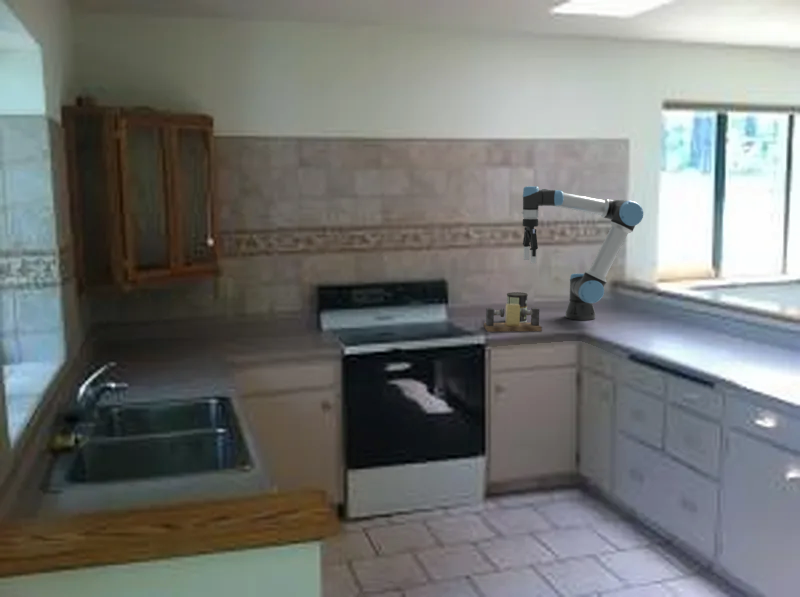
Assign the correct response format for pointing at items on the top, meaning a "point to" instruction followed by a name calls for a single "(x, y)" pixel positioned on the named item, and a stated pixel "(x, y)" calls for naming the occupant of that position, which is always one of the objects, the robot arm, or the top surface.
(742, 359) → the top surface
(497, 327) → the shaft stand
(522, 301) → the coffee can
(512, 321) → the coupler
